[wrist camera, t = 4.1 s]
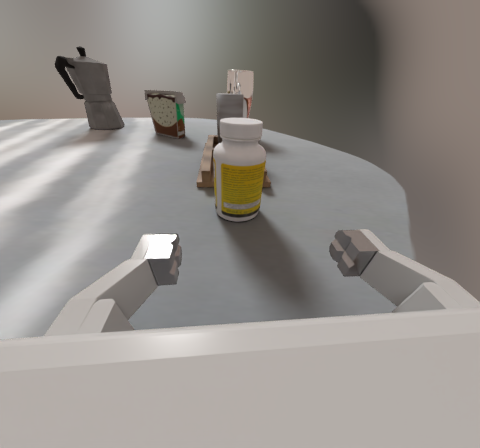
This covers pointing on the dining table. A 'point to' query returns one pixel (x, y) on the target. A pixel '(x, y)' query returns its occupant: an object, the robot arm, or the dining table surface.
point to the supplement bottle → (239, 169)
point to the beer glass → (241, 87)
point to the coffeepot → (91, 89)
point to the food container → (167, 112)
